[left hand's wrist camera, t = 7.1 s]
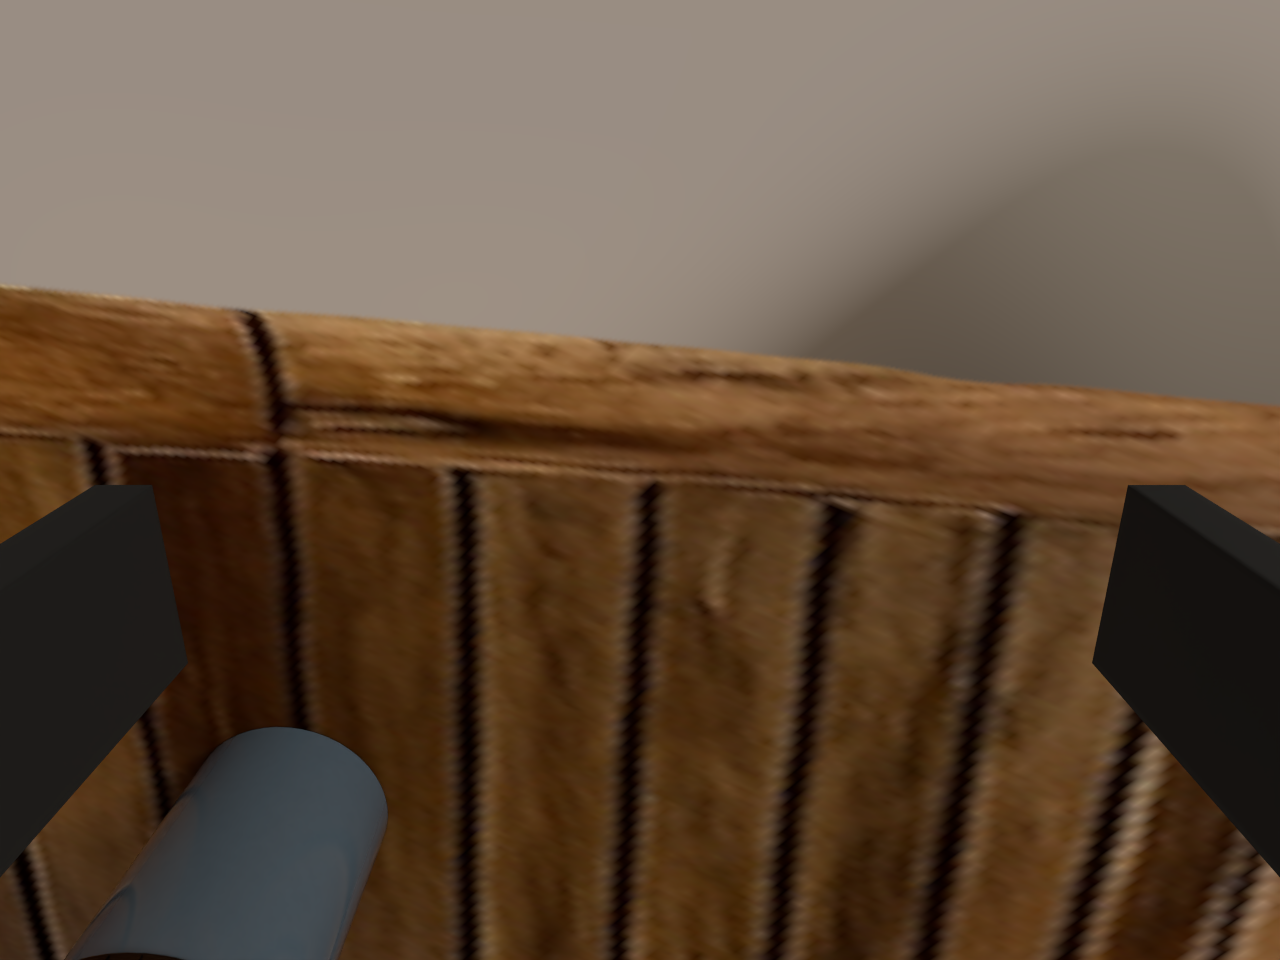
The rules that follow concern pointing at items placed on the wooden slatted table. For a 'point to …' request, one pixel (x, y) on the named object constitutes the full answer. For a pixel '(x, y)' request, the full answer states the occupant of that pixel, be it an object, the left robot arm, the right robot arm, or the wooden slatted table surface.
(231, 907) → the jar
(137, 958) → the lid
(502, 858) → the wooden slatted table surface
